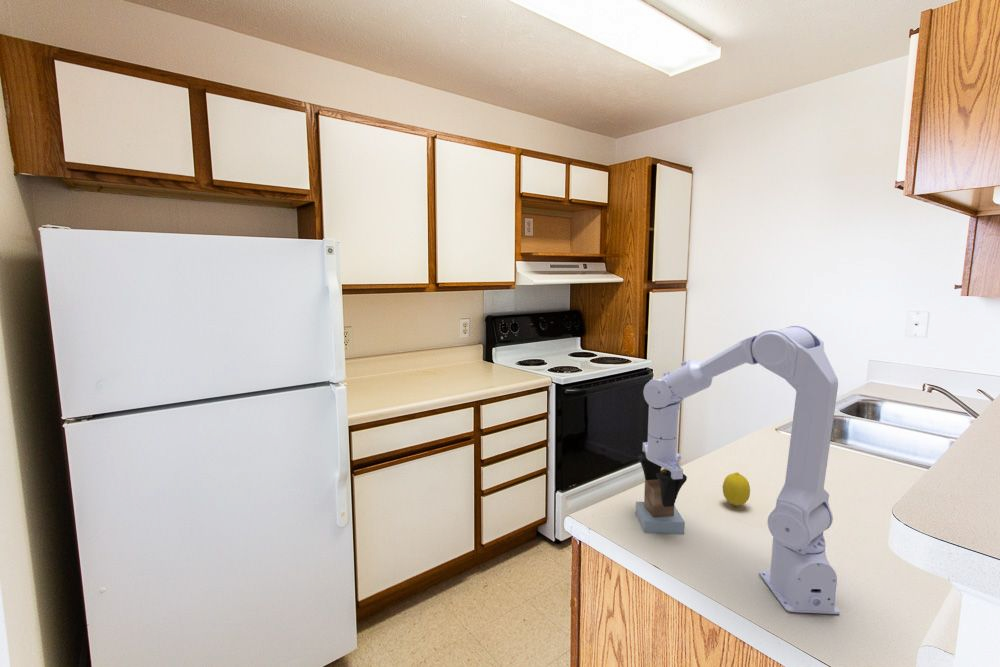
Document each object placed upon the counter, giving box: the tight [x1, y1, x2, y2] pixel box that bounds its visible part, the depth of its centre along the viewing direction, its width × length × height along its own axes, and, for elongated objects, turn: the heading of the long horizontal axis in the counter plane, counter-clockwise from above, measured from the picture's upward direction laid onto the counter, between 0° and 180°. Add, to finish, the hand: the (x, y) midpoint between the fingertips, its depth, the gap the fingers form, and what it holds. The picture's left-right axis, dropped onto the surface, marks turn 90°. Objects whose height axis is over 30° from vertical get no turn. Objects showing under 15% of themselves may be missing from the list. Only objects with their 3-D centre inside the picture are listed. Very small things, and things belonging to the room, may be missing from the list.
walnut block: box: [643, 479, 674, 517], centre depth 98 cm, size 4×4×6 cm
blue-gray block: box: [635, 501, 686, 535], centre depth 98 cm, size 8×8×3 cm
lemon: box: [722, 472, 751, 507], centre depth 104 cm, size 6×6×8 cm
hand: (659, 496), depth 97 cm, fingers open, 7 cm apart
